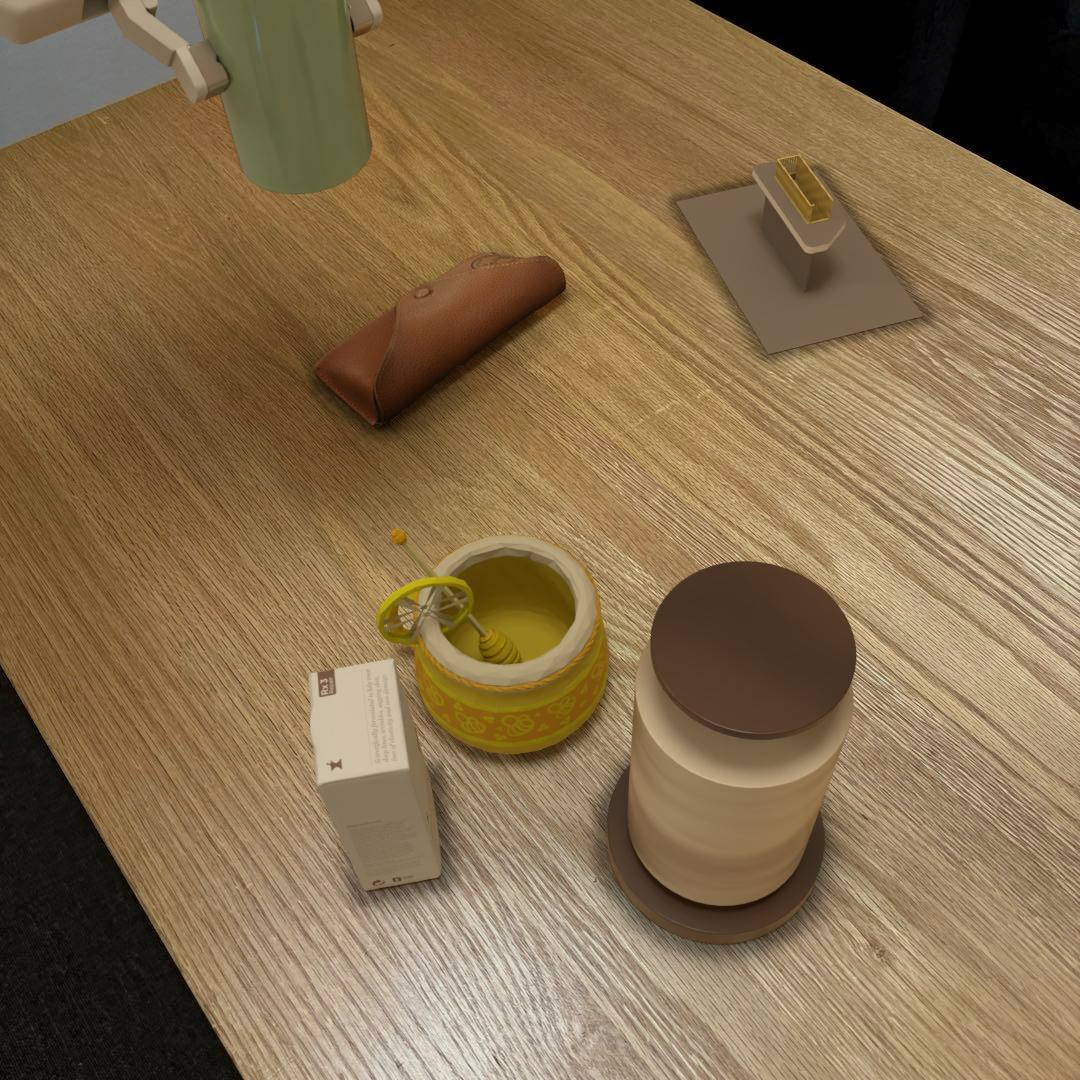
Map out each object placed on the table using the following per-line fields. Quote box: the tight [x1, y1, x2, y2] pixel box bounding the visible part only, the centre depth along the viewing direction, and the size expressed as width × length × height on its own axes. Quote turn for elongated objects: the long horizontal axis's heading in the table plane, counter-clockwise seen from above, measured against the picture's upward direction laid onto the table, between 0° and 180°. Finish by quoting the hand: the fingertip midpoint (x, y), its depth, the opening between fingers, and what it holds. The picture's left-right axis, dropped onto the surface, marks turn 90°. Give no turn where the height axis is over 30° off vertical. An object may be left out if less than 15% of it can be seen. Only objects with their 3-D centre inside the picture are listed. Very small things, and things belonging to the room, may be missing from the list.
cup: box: [192, 0, 373, 195], centre depth 50 cm, size 6×6×9 cm
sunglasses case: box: [313, 251, 567, 428], centre depth 84 cm, size 18×7×7 cm
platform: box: [675, 153, 925, 355], centre depth 86 cm, size 12×18×7 cm, turn 17°
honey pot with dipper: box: [375, 528, 610, 755], centre depth 63 cm, size 13×11×12 cm
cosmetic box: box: [308, 657, 442, 891], centre depth 58 cm, size 6×4×12 cm
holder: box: [606, 560, 858, 945], centre depth 54 cm, size 11×11×19 cm
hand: (291, 61), depth 50 cm, fingers closed on cup, 6 cm apart
